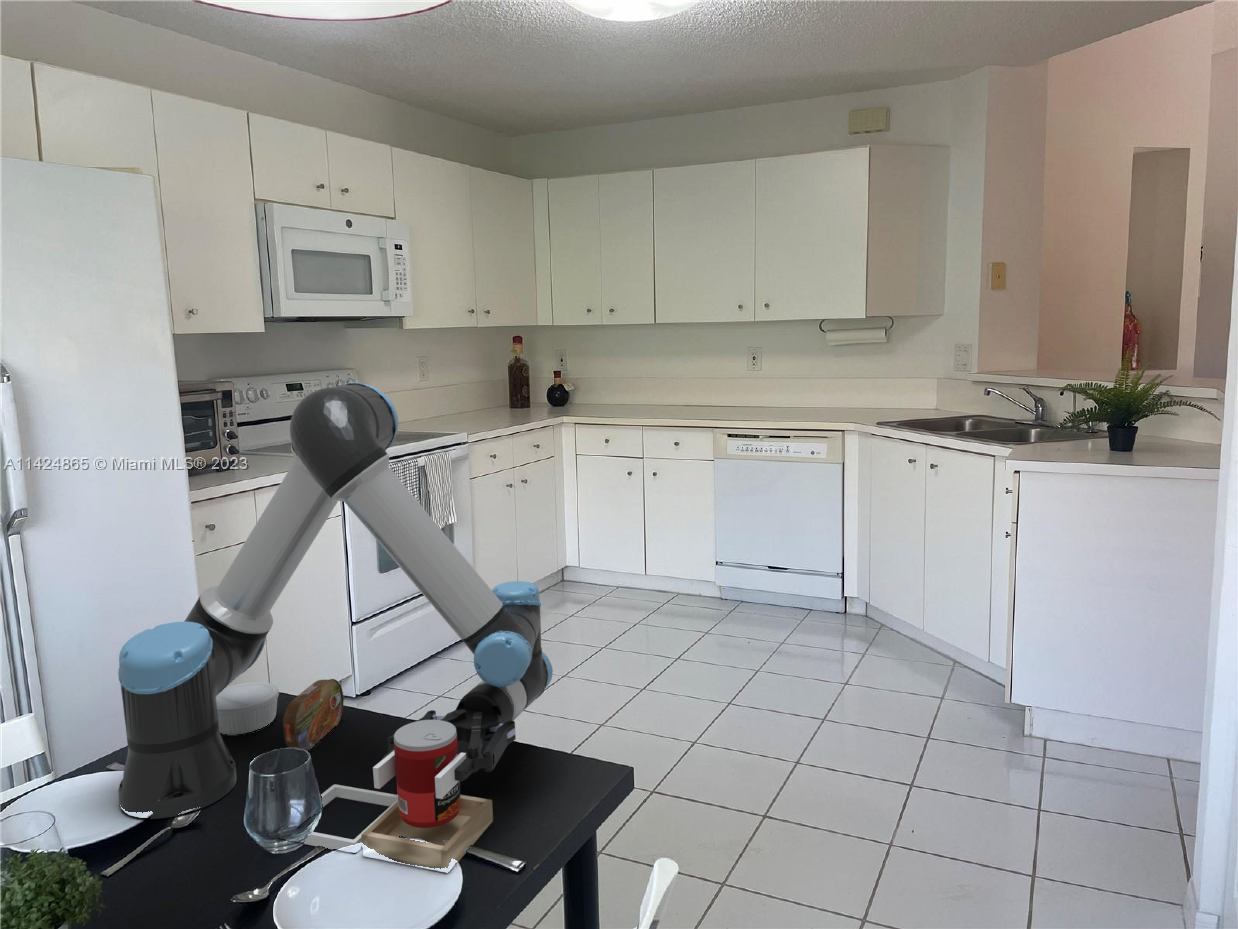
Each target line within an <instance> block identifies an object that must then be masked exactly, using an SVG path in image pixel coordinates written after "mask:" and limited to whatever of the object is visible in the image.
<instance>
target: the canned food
mask: <svg viewBox="0 0 1238 929" xmlns="http://www.w3.org/2000/svg"><path fill="white" fill-rule="evenodd" d="M393 734H394V754H395V767H396V775H395V776H396V777H395V779H396V790H397V795H398V807H399V813H400V816H401V818H402V820H403V821H404V822H405V823H406V824H408V825H410V826H413V827H418V828H431V827H436V826H440V825H443V824H446V823H448V822H450V821H451V820H452V819H454V818H455V817H456V816H457V814H458V813H459V809H460V805H461V797H460V795H461V783H460V782H461V781H459V782H458V783H457V784H456V785H455V786H454V787H453V788H452V789H451V790H450V791H449V792H448V793H447V794H446V795H445V796H444V797H443V798H442V799H439V798H436V790H435V776H437V775H438V774H439V773H440V772H441V771H442V770H443V769H444V768H445V767H446V766H447V765H448V764H449V763H450V762H451V761H452V760H454V759H455V758H456V757H457V756H458V755H459V746H458V742H459V741H457V732H456V728H455V726H454V725H453V724H451V723H449V722H446V721H441V720H421V721H417V720H415V721H414V722H410V723H407V724H405V725H403V726H401V727H399V728H398V729H396V731H395V732H394V733H393Z"/></svg>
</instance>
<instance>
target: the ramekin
mask: <svg viewBox="0 0 1238 929" xmlns="http://www.w3.org/2000/svg"><path fill="white" fill-rule="evenodd" d="M279 695H280V692H279V688H278V686H277V685H276V684H273V683H271V682H267V681H266V682H265V681H252V682H251V681H250V682H241V683H238V684H234V685H228V686H227V687H225V688H224V689H223V690H222V691H221V692H220V693H219V694H218V695H217V696H216V702H217V713H218V725H219V731H220V734H221V733H222V734H221V735H225V734H227V735H226V736H238V735H237V734H243V733H247V732H252V731H255V730H257V729H261V728H263V727H265V726H267V725H268V724H269V725H271V724H272V723H271V722H273V721H274V720H275V718H276V715H277V708H278V697H279ZM270 723H271V724H270ZM269 725H268V726H269ZM268 726H267V727H268ZM265 728H266V727H265ZM263 729H264V728H263ZM261 730H262V729H261ZM252 733H253V732H252ZM243 735H244V734H243Z"/></svg>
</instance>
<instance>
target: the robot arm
mask: <svg viewBox="0 0 1238 929" xmlns="http://www.w3.org/2000/svg"><path fill="white" fill-rule="evenodd" d="M398 430H399V418H398V412H397V409H396V407H395V405H394V403H393V402H392V400H391V399H390V397H389V396H388V395H386V393H384V392H383V391H382V390H380V389H379V388H377V387H375V386H372V385H370V384H366V383H361V382H347V383H343V384H340V385H337V386H336V385H335V386H330V387H329V386H327V387H325V388H320V389H318V390H315V391H313V392H310V393H309V394H307V395H306V396H304V397H303V398H302V399H301V400H300V402H299V403H297V405H296V407H295V408H294V410H293V413H292V416H291V418H290V424H289V436H290V440H291V443H292V444H291V446H290V450H291V454H292V457H293V460H294V461H293V463H292V465H291V466H290V468H289V470H288V471H287V473H286V474H285V476H284V477H283V479H282V481H281V483H280V484H279V486H278V487H277V489H276V491H275V492H274V494H273V496H272V497H271V498H270V500H269V502H268V504H267V506H266V507H265V509H264V510H263V512H262V513H261V515H260V517H259V518H258V520H257V522H256V524H255V525H254V527H253V528H252V530H251V531H250V533H249V535H248V537H247V538H246V540H245V541H244V543H243V545H242V547H241V548H240V549H239V551H238V553H237V555H236V556H235V558H234V559H233V561H232V562H231V565H230V566H229V568H228V570H227V571H226V572H225V574H224V576H223V577H222V579H221V580H220V582H219V584H218V585H215V586H210V587H207V588H205V589H204V590H203V591H202V592H201V594H200V596H199V597H198V599H197V600H196V602H195V604H194V605H193V607H192V609H191V610H190V611H189V613H188V614H187V616H186V618H185V620H183V621H175V622H167V623H163V624H160V625H159V624H158V625H155V626H154V628H147V629H144V630H143V631H141V632H138V633H137V634H135V635H133V636H132V637H131V638H129V639H128V640H127V641H126V642H125V643H124V644H123V646H122V647H121V650H120V651H119V655H118V663H119V664H118V665H119V668H118V674H117V675H118V681H119V684H120V690H121V699H122V706H123V707H122V708H123V716H124V725H125V733H126V742H127V753H126V759H125V764H124V768H123V775H122V779H121V781H119V782H120V783H119V785H118V792H117V793H118V794H117V796H118V803H120V805H121V807H122V808H123V809H125V811H128V812H136V813H137V812H142V813H143V812H148V811H149V812H150V811H152V812H153V815H152V816H151V818H150V819H149V820H157V819H158V820H159V819H166V818H168V819H169V818H174V817H178V816H177V815H178V814H179V813H181V812H182V811H186V810H189V809H193V808H197V807H198V808H199V807H201V809H203V808H206V807H208V806H210V805H213V804H214V803H216V802H217V801H219V800H222V798H224V797H225V796H227V795H228V794H229V793H230V792H231V791H232V790H233V788H234V787H235V786H236V783H237V780H238V779H237V777H238V776H237V768H236V762H235V760H234V758H233V757H232V755H231V753H230V751H229V749H228V746H227V743H226V742H225V740H224V738H223V736H222V734H221V733H220V731H219V725H218V713H217V702H216V696H217V695H218V694H219V693H220V692H221V691H222V690H223V689H224V688H226V687H229V686H230V684H231V683H232V682H234V681H235V680H236V679H237V678H238V677H239V676H240V675H242V674H243V673H245V672H247V670H248V669H250V668H251V667H252V666H253V665H254V664H255V662H256V661H258V658H259V657H260V655H261V654H262V651H263V649H264V647H265V645H266V641H267V640H266V639H267V635H268V633H269V632H270V631H271V629H272V627H273V624H274V617H273V615H272V613H271V610H272V608H273V607H274V605H275V604H276V602H277V600H278V598H279V597H280V596H281V594H282V593H283V591H284V589H285V588H286V586H287V584H288V583H289V581H290V580H291V578H292V576H293V575H294V573H295V571H296V570H297V568H298V567H299V565H300V563H301V562H302V560H303V559H304V557H305V555H306V553H307V552H308V550H309V549H310V548H311V546H312V544H313V542H314V541H315V540H316V538H317V536H318V534H319V533H320V531H321V529H322V528H323V526H324V525H325V523H326V522H327V520H328V518H329V517H330V515H331V514H332V512H333V511H334V509H335V507H336V505H337V504H338V502H344V503H345V504H346V505H347V507H348V508H349V509H350V510H351V512H353V514H354V515H355V517H357V519H358V520H359V521H360V522H361V524H363V526H364V527H365V528H366V529H367V531H369V532H370V534H371V535H372V536H373V537H374V539H376V541H377V542H378V544H380V546H381V547H382V548H383V549H384V550H385V551H386V553H387V554H388V555H389V557H391V558H392V560H393V561H394V562H395V563H396V565H397V566H399V568H400V569H401V570H402V571H403V573H404V575H406V576H407V577H408V579H409V580H410V581H411V582H412V584H414V585H415V587H416V588H417V589H418V590H419V591H420V593H421V594H422V595H423V596H424V598H425V599H426V600H427V601H428V602H429V603H430V605H431V606H432V607H433V608H434V609H435V611H436V612H437V613H438V614H439V615H440V616H441V618H442V619H443V620H444V621H445V622H446V623H447V625H449V627H450V628H451V629H452V630H453V631H454V633H455V634H456V635H457V636H458V637H459V639H461V641H462V642H463V643H464V644H465V646H466V647H467V648H468V649H469V650H470V652H471V653H472V654H473V666H474V669H475V671H476V674H477V675H478V677H479V678H480V680H481V681H480V682H479V683H478V684H477V685H475V686H474V687H473V688H472V689H471V690H469V691H468V692H467V693H466V694H464V696H462V698H461V699H460V700H459V703H458V704H457V706H456V708H455V709H454V710H452V711H449V712H448V713H446V715H437V712H436V710H434V709H433V710H432V709H431V710H428V711H427V712H426V713H425V714H424V716H422V717H420V718H419V719H417V720H416V721H421V720H441V721H446V722H449V723H451V724H453V725H454V726H455V728H456V732H457V742H465V743H469V746H467V752H459V753H458V756H457V757H456V758H455V759H454V760H452V761H451V762H450V763H449V764H448V765H447V766H446V767H445V768H444V769H443V770H442V771H441V772H440V773H439V774H438V775H437V776H435V790H436V798H439V799H442V798H443V797H444V796H445V795H446V794H447V793H448V792H449V791H450V790H451V789H452V788H453V787H454V786H455V785H456V784H457V783H458V782H459V781H460V782H464V781H465V780H467V778H468V777H469V776H471V775H472V773H476V772H478V771H479V769H483V771H484V772H485V773H491V772H493V771H494V769H495V768H496V765H497V763H498V762H499V760H500V759H501V757H502V756H503V754H504V752H505V751H506V748H507V747H508V745H509V744H511V743H512V742H514V741H515V740H516V721H515V720H516V719H517V718H518V717H519V716H520V715H521V714H522V713H523V712H524V711H525V710H526V709H527V708H528V707H529V706H530V705H531V704H533V702H535V701H536V700H537V699H539V698H540V697H541V696H542V694H544V692H545V690H546V688H548V686H549V685H550V683H551V681H552V678H553V671H554V670H553V665H552V663H551V662H550V659H549V658H548V656H547V655H546V654H545V653H544V652H543V648H542V626H541V625H542V623H541V606H542V603H541V602H540V600H541V598H540V590H539V587H538V586H537V585H536V584H534V583H532V582H529V581H524V580H523V581H522V580H521V581H520V580H519V581H518V580H515V581H507V582H503V583H498V584H497V585H495V586H494V587H493V588H490V586H488V584H487V583H486V582H485V580H484V579H483V578H482V577H481V576H480V575H479V573H478V572H477V571H476V569H475V568H473V566H472V564H470V562H469V561H468V560H467V559H466V558H465V557H464V555H463V554H462V553H461V552H460V551H459V549H458V548H457V547H456V546H455V544H453V542H452V541H451V540H450V538H448V536H447V535H446V534H445V533H444V531H443V530H442V529H441V528H440V527H439V525H438V524H437V523H436V522H435V521H434V520H433V518H432V517H431V516H430V515H429V514H428V512H427V511H426V510H425V508H424V507H423V506H422V505H421V504H420V503H419V501H418V500H417V499H416V498H415V496H413V494H412V493H411V492H410V490H409V489H408V488H407V487H406V485H405V484H404V483H403V482H402V481H401V480H400V479H399V477H398V476H397V475H396V474H395V473H394V472H393V470H392V469H391V468H390V455H389V453H387V449H389V448H390V447H391V446H392V444H393V443H394V441H395V438H396V436H397V434H398ZM394 734H395V733H393V734H391V735H390V736H389V737H387V751H388V752H387V753H385V755H383V756H382V758H381V760H380V761H379V762H377V764H375V765H374V766H373V767H372V772H373V786H374V789H378V790H380V789H381V788H382V787H384V786H385V785H386V784H387V783H388V782H389V781H390V780H391V779H393V778H394V777H395V776H396V767H395V754H394ZM484 742H488V743H487V745H486V747H485V748H484V750H483V744H484ZM482 750H483V751H482ZM120 805H119V806H120Z"/></svg>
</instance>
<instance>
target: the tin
mask: <svg viewBox="0 0 1238 929" xmlns="http://www.w3.org/2000/svg"><path fill="white" fill-rule="evenodd" d="M344 698H345V697H344V692H343V688H342V685H341V684H340V682H339V681H338V680H337V679H335V678H328V679H319V680H316V681H314V682H313V683H312V684H310V686H308V687H307V688H305V689H304V690H303V691H301V693H300V694H298V695H297V696H295V697H294V698H293V699H292V700H290V702H289V703H288V705H287V707H286V708H285V712H284V713H283V718H282V727H283V737H284V741H285V742H284V743H285V745H286V746H287V747H288V748H289V747H299V748H304V749H308V750H309V751H311V750H310V749H312V747H313V746H315V743H318V742H319V740H320V739H322V738H323V736H325V735H326V734H327V732H330V730H331V729H333V728H334V727H335V726H336V727H337V726H338V725H339V723H340V720H341V718H342V715H343V710H344ZM333 730H334V729H333ZM330 733H331V732H330ZM319 743H320V742H319ZM319 743H318V744H319ZM315 747H316V746H315ZM312 750H313V749H312Z"/></svg>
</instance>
